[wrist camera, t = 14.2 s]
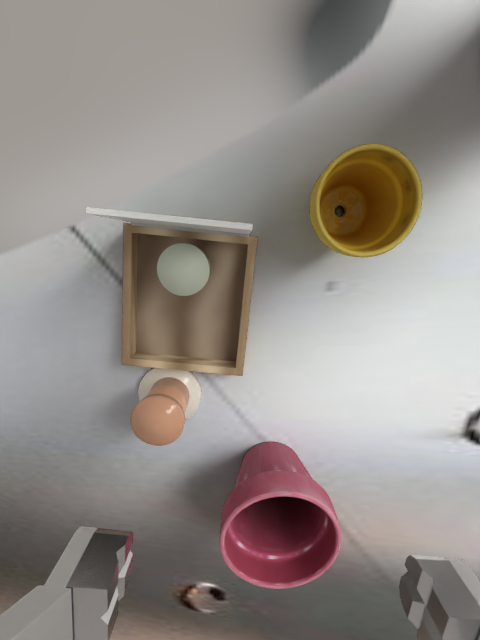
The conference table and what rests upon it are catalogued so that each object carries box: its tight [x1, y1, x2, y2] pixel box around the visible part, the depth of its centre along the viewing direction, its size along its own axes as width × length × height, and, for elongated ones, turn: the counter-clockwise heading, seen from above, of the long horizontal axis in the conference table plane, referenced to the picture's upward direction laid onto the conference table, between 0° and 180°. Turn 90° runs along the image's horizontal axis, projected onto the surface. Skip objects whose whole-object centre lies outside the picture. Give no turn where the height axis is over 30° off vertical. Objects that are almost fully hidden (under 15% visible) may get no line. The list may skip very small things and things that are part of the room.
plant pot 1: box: [220, 442, 341, 589], centre depth 42 cm, size 14×14×13 cm
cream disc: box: [138, 368, 202, 420], centre depth 45 cm, size 9×9×1 cm
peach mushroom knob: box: [131, 377, 190, 446], centre depth 41 cm, size 6×6×7 cm
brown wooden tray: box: [122, 223, 257, 376], centre depth 40 cm, size 16×18×3 cm
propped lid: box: [86, 207, 253, 237], centre depth 32 cm, size 14×1×11 cm, turn 84°
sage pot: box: [157, 243, 211, 296], centre depth 37 cm, size 6×6×6 cm
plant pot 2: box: [310, 144, 422, 257], centre depth 34 cm, size 10×10×10 cm
